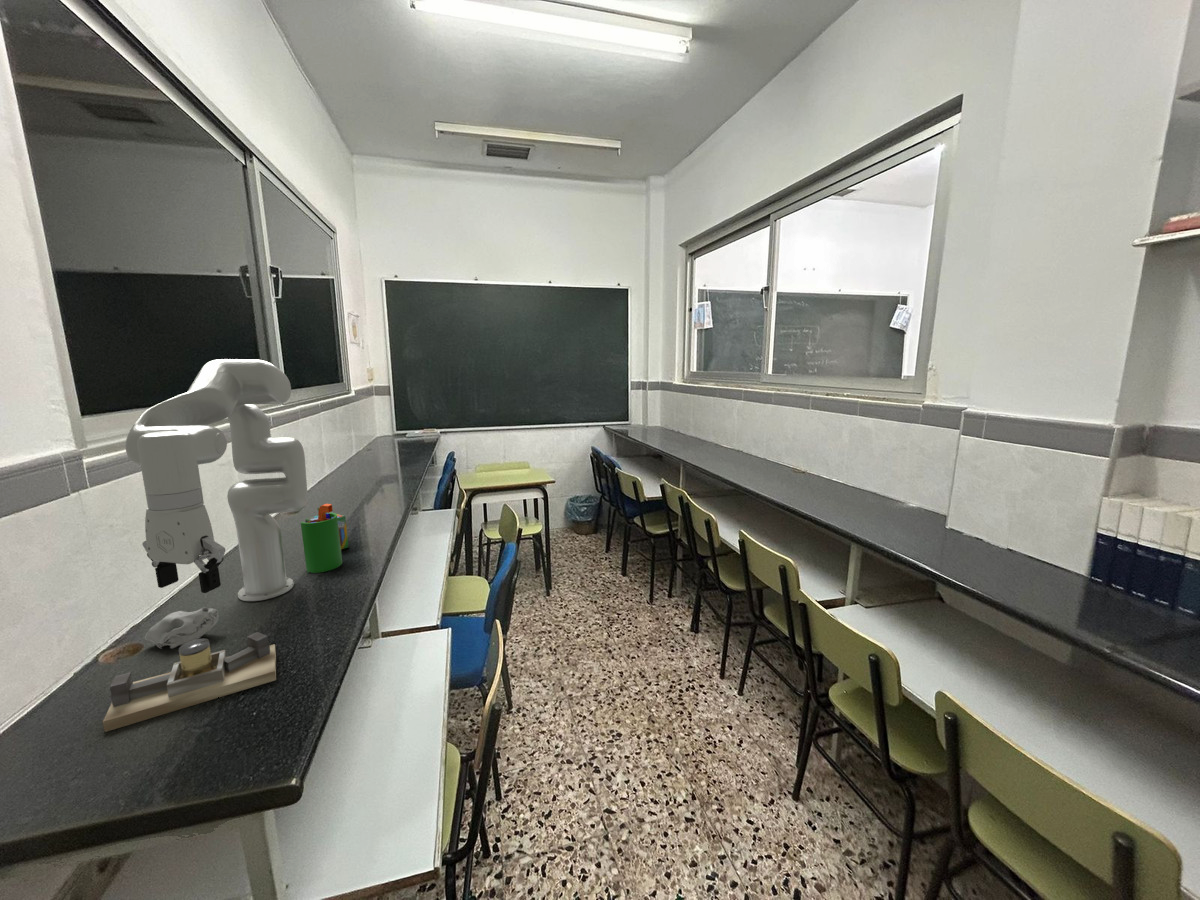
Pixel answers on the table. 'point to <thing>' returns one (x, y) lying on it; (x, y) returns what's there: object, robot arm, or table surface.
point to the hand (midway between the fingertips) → (189, 587)
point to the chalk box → (341, 527)
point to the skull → (182, 627)
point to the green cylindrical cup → (322, 541)
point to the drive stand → (190, 684)
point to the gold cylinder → (195, 657)
